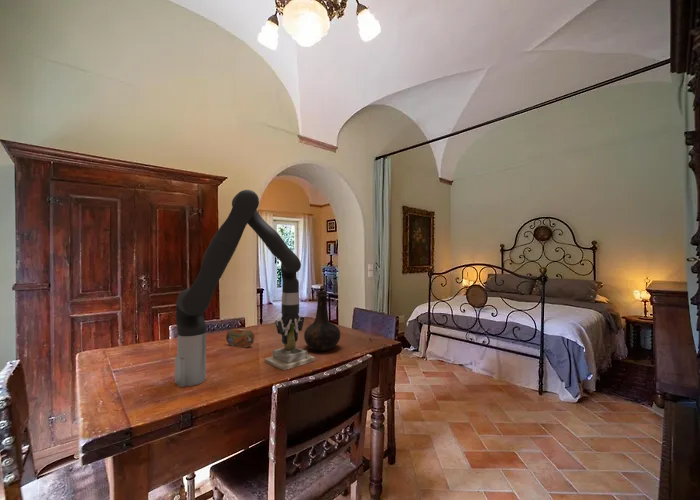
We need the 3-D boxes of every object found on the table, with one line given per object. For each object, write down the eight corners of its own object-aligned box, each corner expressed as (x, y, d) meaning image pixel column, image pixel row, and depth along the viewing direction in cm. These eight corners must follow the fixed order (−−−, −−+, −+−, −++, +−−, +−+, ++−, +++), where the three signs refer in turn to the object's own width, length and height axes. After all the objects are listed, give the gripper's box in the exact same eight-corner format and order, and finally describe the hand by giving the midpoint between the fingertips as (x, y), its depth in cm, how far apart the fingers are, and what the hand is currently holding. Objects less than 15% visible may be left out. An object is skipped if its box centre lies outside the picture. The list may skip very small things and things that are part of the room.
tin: (225, 345, 154) (225, 328, 154) (229, 343, 157) (230, 327, 157) (251, 348, 149) (251, 331, 149) (255, 346, 152) (255, 329, 152)
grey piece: (283, 370, 121) (283, 359, 121) (264, 362, 130) (264, 351, 130) (314, 360, 132) (315, 350, 132) (295, 353, 142) (295, 343, 142)
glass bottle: (323, 356, 138) (324, 294, 138) (296, 349, 148) (296, 291, 149) (347, 347, 152) (348, 291, 152) (321, 341, 163) (321, 288, 163)
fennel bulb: (283, 348, 133) (283, 320, 133) (294, 347, 135) (294, 320, 135) (285, 352, 128) (285, 323, 128) (296, 351, 130) (297, 322, 130)
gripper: (281, 305, 124) (281, 348, 124) (309, 301, 134) (308, 341, 134) (271, 303, 129) (270, 344, 129) (298, 300, 140) (298, 337, 139)
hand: (290, 342), depth 131 cm, fingers closed on fennel bulb, 4 cm apart
